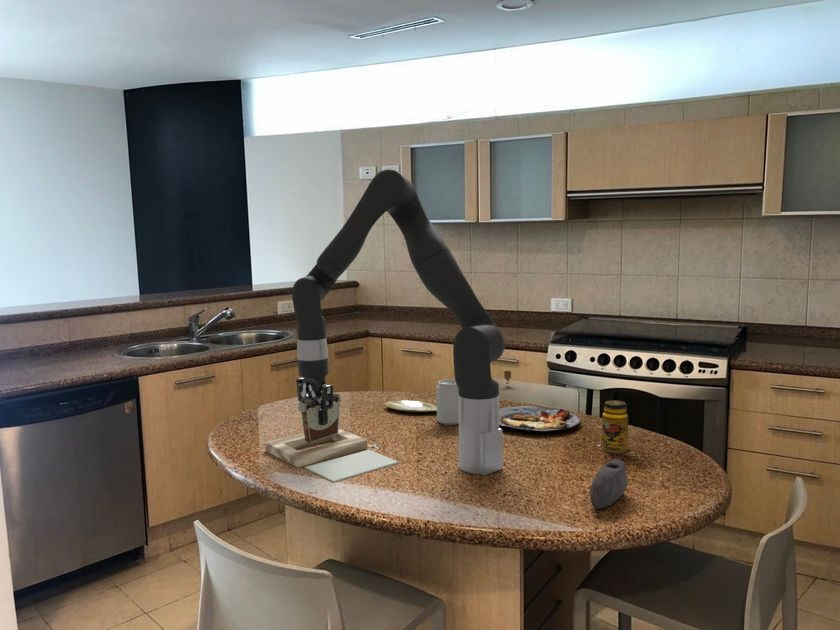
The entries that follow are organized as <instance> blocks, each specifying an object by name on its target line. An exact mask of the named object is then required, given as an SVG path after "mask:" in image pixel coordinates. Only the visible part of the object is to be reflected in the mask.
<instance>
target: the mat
mask: <svg viewBox="0 0 840 630" xmlns="http://www.w3.org/2000/svg"><path fill="white" fill-rule="evenodd" d="M397 464H399V461H397V460H395V459H393V458H390V457H387V456H385V455H383V454H380V453H378V452H375V451H373V450H370V449H365V450H361V451H357V452H356V453H355V452H354V453H350V454H346V455H343V456H339V457H335V458H334V459H333V458H332V459H328V460H324V461H321V462H317V463H313V464H310V465H306V466H305V469H306V470H307V471H310V472H312V473H314V474H316V475H318V476H320V477H322V478H323V479H326V480H327V481H330V482H332V483H337V482H340V481H343V480H348V479H350V478H354V477H357V476H360V475H364V474H366V473H367V474H368V473H370V472H374V471H377V470H381V469H383V468H387V467H390V466H394V465H397Z"/></svg>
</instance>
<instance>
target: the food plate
mask: <svg viewBox="0 0 840 630" xmlns="http://www.w3.org/2000/svg"><path fill="white" fill-rule="evenodd" d="M536 416H538V417H536ZM581 422H582V420H581V418H580V417H579V415H577V414H576V413H573V412H571V411H569V410H565V409H562V408H553V407H545V406H535V405H521V406H517V405H516V406H509V407H507V406H506V407H503V408H499V426H502V427H506V428H508V427H509V428H512V429H514V430H526V431H527V432H530V431H534V432H536V431H537V432H546V433H547V432H557V431H565V430H569V429H572V428H574V427H576V426H577V425H579V424H581Z"/></svg>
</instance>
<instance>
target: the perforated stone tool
mask: <svg viewBox="0 0 840 630" xmlns="http://www.w3.org/2000/svg"><path fill="white" fill-rule="evenodd" d="M626 469H627V467H626V462H625V461H624V460H621V459H617V458H614V459H612V460H609V462H606V464H604V465H603V466H602V467H601V468H600V469H599V470H598V471H597V473H596V474H595V476H594V478H593V479H592V483H591V485H590V491H589V498H590V503H591V505H592V507H593V508H594V509H596V510H602V509H605V508H608V507H610V506H611V505H612V504H613V503H615V502H616V501H617V500H619V499H620V497H622V495H623V494H624V493H625V491H626V489H627V487H628V483H629V482H628V481H629V479H628V477H627V474H626Z"/></svg>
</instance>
